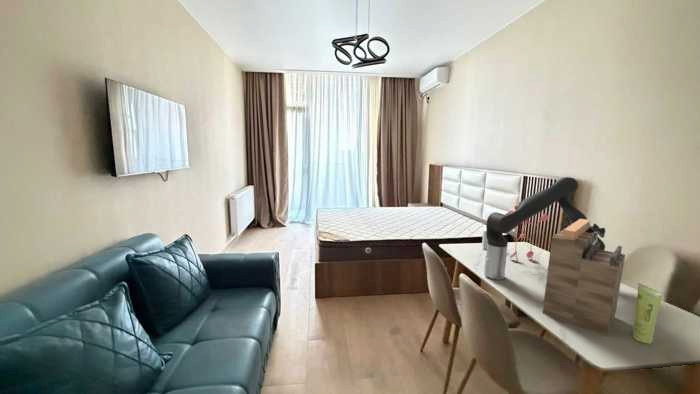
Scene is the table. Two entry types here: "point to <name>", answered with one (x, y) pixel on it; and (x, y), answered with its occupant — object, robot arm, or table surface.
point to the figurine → (530, 253)
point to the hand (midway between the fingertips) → (581, 223)
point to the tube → (646, 313)
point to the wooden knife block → (583, 282)
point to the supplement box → (484, 239)
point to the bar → (576, 229)
